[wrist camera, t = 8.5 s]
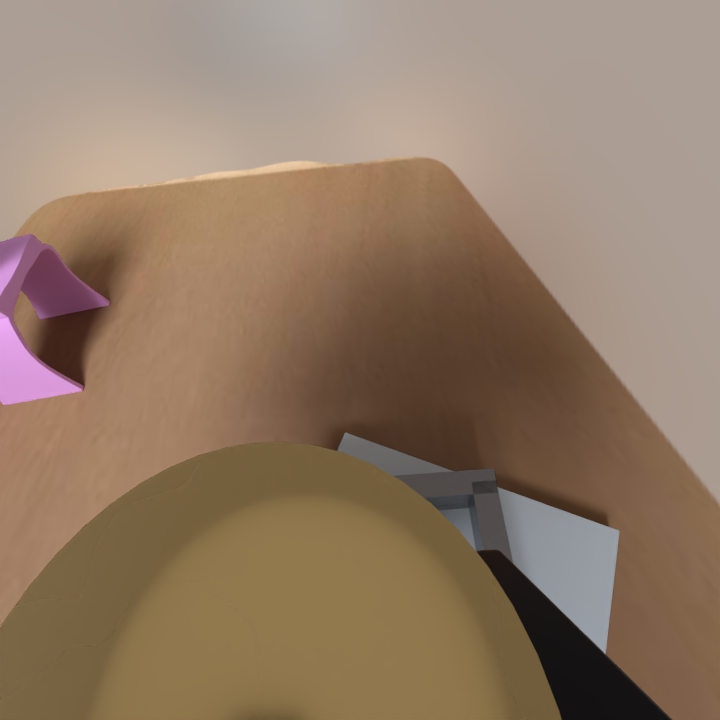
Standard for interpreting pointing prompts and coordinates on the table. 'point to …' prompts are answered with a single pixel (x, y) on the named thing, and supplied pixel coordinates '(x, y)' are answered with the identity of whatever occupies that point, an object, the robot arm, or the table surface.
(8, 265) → the toy chair
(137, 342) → the table surface
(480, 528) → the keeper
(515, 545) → the door panel
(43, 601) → the gold cylinder
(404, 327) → the table surface
